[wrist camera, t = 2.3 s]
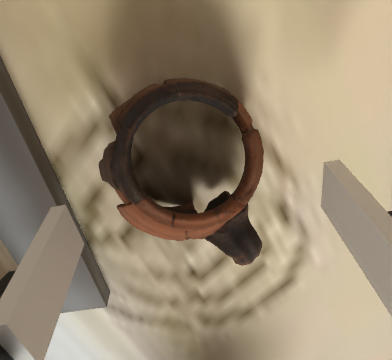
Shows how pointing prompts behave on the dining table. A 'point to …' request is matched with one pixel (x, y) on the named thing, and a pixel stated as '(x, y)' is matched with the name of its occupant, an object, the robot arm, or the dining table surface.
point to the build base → (35, 200)
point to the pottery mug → (186, 214)
